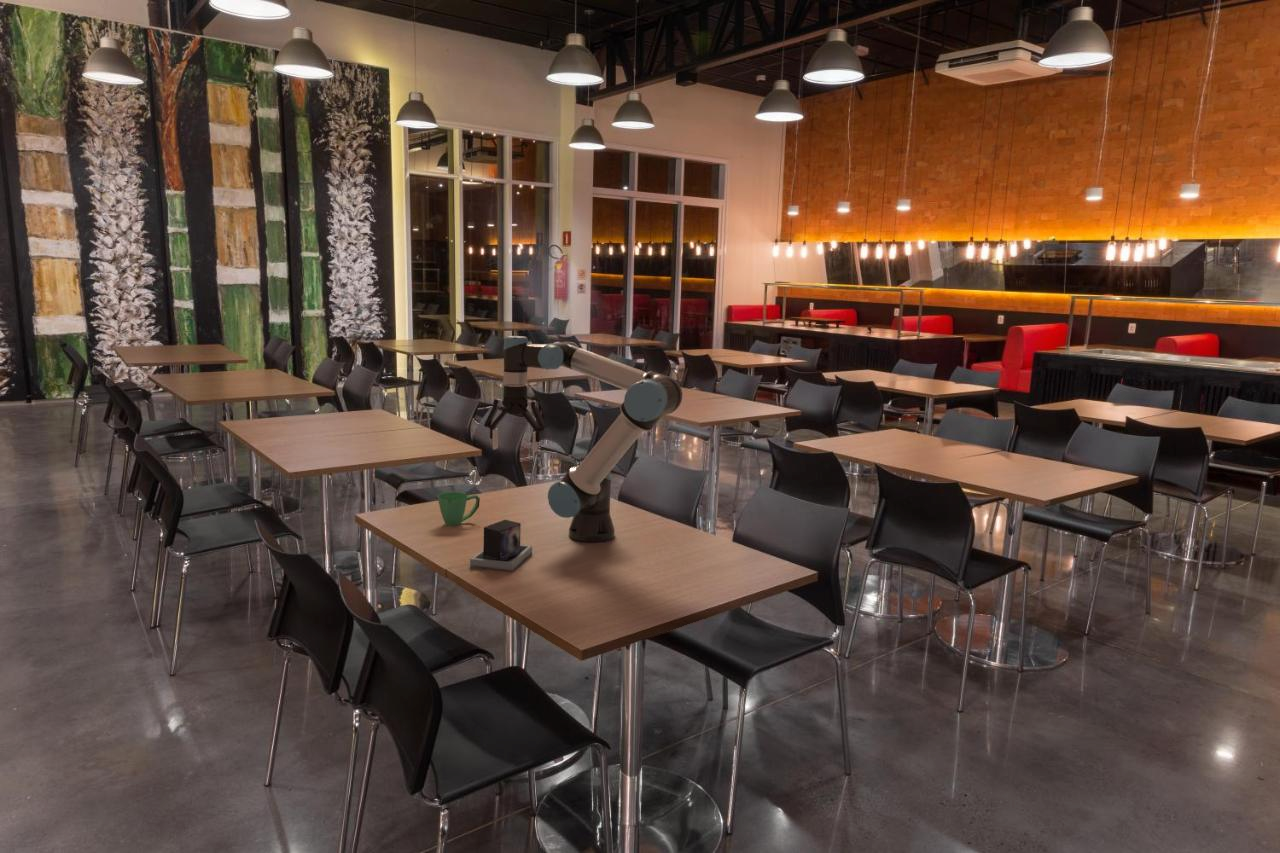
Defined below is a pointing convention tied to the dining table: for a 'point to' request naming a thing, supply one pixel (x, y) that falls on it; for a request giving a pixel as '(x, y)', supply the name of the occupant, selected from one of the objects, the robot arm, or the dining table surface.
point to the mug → (455, 507)
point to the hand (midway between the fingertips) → (515, 450)
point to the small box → (502, 541)
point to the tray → (508, 565)
